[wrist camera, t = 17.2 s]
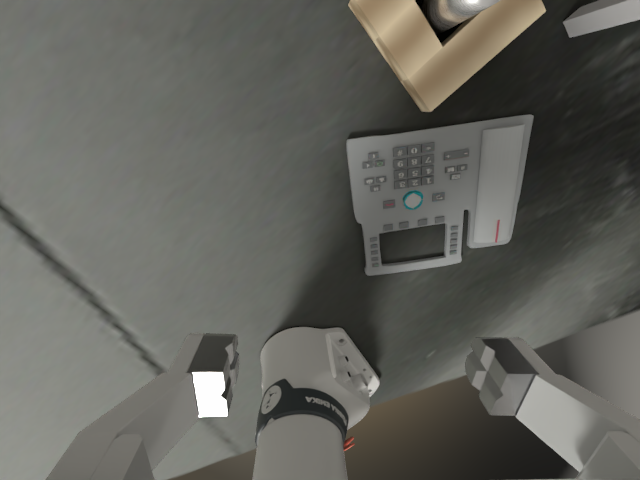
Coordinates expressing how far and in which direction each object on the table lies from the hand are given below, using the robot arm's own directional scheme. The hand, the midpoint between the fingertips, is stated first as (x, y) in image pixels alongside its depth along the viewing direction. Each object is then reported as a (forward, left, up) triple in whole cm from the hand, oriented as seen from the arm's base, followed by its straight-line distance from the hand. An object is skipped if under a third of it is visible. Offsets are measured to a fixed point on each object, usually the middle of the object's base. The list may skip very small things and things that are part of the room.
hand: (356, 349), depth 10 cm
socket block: (+4, -21, -31) cm, 38 cm away
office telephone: (-14, -9, -32) cm, 36 cm away
